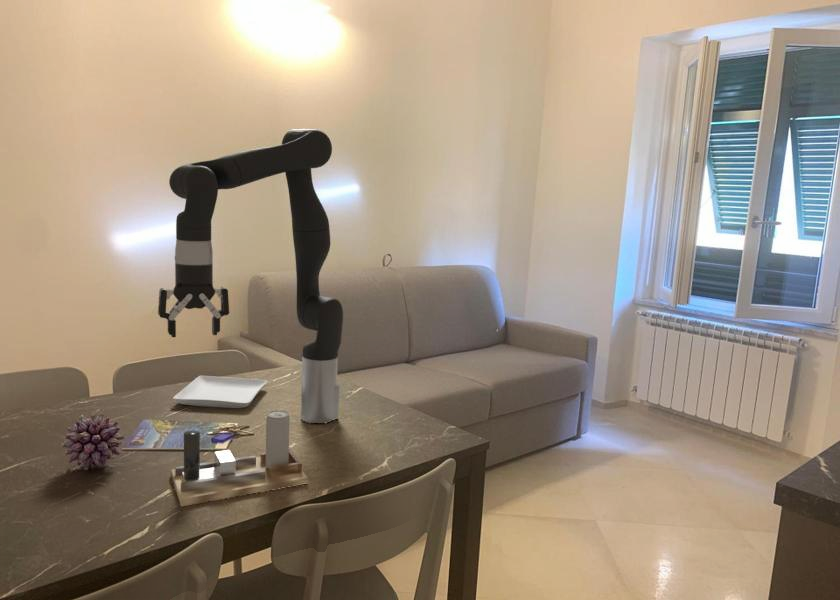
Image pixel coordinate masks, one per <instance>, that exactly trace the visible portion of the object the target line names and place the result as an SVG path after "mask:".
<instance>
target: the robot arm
mask: <svg viewBox="0 0 840 600" xmlns="http://www.w3.org/2000/svg"><path fill="white" fill-rule="evenodd" d="M332 153H333V145H332V141H331V139H330V137H329V136H328V135H327V134H326V133H325V132H324V131H321V130H318V129H314V128H313V129H312V128H294V129H289V130H288V131H287V132H285V134H284V135H283V137H282V141H281V144H278V145H274V146H267V147H260V148H253V149H252V148H251V149H247V150H243V151H241V150H240V151H238V152H234V153H230V154H227V155H223V156H220V157H218V158H215V159H210V160H203V161H197V162H191V163H187V164H183V165H181V166H179V167H177V168H175V169H174V170H173V171H172V172H171V175H170V176H169V183H168V184H169V187H170V190H171V191H172V193H173V194H174V195H176V196H177V197H178V198H181V199H184V200H185V205H184V210H183V211H181V212H179V213H178V214H177V215H176V221H175V231H176V232H175V234H176V235H175V237H176V239H175V247H174V249H175V250H174V261H175V262H174V263H175V266H174V267H175V268H174V271H175V272H174V273H175V274H174V275H175V278H174V280H175V283H174V285H175V286H174V288H173V289H167V288H164V287H161V288H160V289H159V292H158V306H157V307H158V310H157V314H158V316H159V317H160V318H161V319H166V320H167V333H168V335H169V336H170V337H171V338H176V336H177V331H176V330H177V328H176V327H177V326H176V325H177V324H176V323H177V321H176V318H177V316H178V315H179V314H180V313H181V312H182V311H183V310H184V309H187V310H192V309H201V310H202V309H204V308H205V307H206V308H207V309H208V311H210V313H211V314H212V317H211V334H212V335H213V336H217V335H218V333H220V331H221V318H222V317H224V316H225V317H226V316H228V315H229V314H230V306H229V305H230V303H229V302H230V301H229V290H228V288H227V287H224V286H221V287H219V288H214V285H213V284H214V283H213V282H214V281H213V278H214V275H213V271H214V270H213V269H214V265H213V261H214V260H213V259H214V258H213V257H214V256H213V246H212V245H213V244H212V220H213V215H214V212H215V209H216V203H217V200H218V193H219V190H230V189H236V188H238V187H241V186H244V185H248V184H251V183H254V182H257V181H260V180H263V179H265V178H269V177H270V178H271V177H273V176H276V175H279V174H282V173H285V177H286V178H285V179H286V183H287V190H288V195H289V205H290V206H289V207H290V213H291V214H290V215H291V226H292V227H291V228H292V229H291V230H292V238H293V239H292V241H293V247H294V257H295V258H294V259H295V271H296V274H295V275H296V315H297V320H298V323H299V325H301V326H302V327H303V328H304V329H308V330H311V331H316V338H315V340H314V341H312V342H311V341H310V342H307V343H305V344H304V345H303V347H302V357H301V358H302V359H301V360H302V362H301V363H302V364H301V391H300V393H301V398H300V399H301V401H300V403H301V404H300V420H301V419H302V420H303V422H304V421H305V423H307V422H308V423H307V424H311V423H325V422H329V421H332V420H333V419H336V418H338V419H339V405H340V404H339V403H340V385H339V384H338V363H339V362H338V356H339V350H340V348H341V343H342V336H343V335H342V333H343V322H344V310H343V305H342V303H341V301H340V300H338V299H337V298H334V297H329V296H324V295H321V294H320V283H319V282H320V272H321V271H322V268H323V265H324V263H325V261H326V259H327V257H328V255H329V251H330V248H331V232H330V230H331V229H330V222H329V218H328V215H327V213H326V210H325V208H324V206H323V204H322V203H321V200H320V198H319V197H318V194H317V193H316V189H315V187H314V186H315V185H314V184H313V183H314V182H313V176H312V169H317V168H321V167H324V165H326V164H327V163H328V162H329V160H330V159H331V156H332ZM215 294H216V295H217V297H218V298H219V299H220V309H217V308H216V307H215V305H214V304H213V303H212V301H211V300H212V299H213V297H214V295H215ZM171 296H174V297H175V299H177V301H176V302H175V303H174V305H173V306H172V308H171V310H170V311H169V312H168V311H167V301H168V300H170V299H171ZM302 420H301V421H302ZM332 422H333V421H332ZM325 424H326V423H325Z"/></svg>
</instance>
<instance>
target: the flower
mask: <svg viewBox="0 0 840 600" xmlns="http://www.w3.org/2000/svg"><path fill="white" fill-rule="evenodd" d="M78 419H79V420H76V421H75V424H74V425H73V427H70V426H67V427H66V428H65V430H67V432H69V433H65V436H64V437H65V439H66V441H65V442H62V443H60V445H61V448H67V450H66V451H65V455H66V456H68V455H70V457H69V458H68V459H67V461H68V463H72V462H75V461H77V462H76V465H78V466H80V465H82V464H83V466H84V467H83V470H85V471H88V470H89V467H90V466H91V465H93V468H97V467H98V464H100V465H101V466H102V467H103V468H105V467H107V466H108V464H107V460H108V461H109V460H113V459H115V456H114V455H117V456H120V454H121V452H120V451H119V450H118V449H117V448H119V447H120V446H121V445H122V444H123V443H122V441H121V440H125V435H121V434H119V433H118V432H119V431H121V429H122V428H121V426H120V425H119V426H117V425H118V424H119V423H120V422H119V420H115V421H113V422H110V419H111V417H110V416H109V417H108V416H107V417H106V418H105V414H104V412H100V413H99V415H97V417H96V415H95V413H92V414H91V415H90V417H89V418H87V417H85V416H84V415H83V414H81V415H79V416H78ZM116 426H117V427H116Z"/></svg>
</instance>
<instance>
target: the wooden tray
mask: <svg viewBox="0 0 840 600" xmlns="http://www.w3.org/2000/svg"><path fill="white" fill-rule="evenodd" d="M234 459H235V460H236V474H232V475H226V476H219V477H213V478H207V479H200V480H194V481H188V482H184V480H183V477H182V472H184V465H180V466H175V468H172V469H170V477H171V481H172V484H173V487H174V490H175V493H176V495H177V499H178V502H179V504H180V507H185V506H191V505H198V504H202V503H203V504H204V503H208V501H210V502H214V501H220V499H221V500H226V499H225V498H227V499H231V498H230V497H233V498H236V497H235V496H238V497H241V496H240V495H244V496H247V495H246V494H250V495H252V494H251V493H256V494H258V493H257V492H261V493H264V492H263V491H267V492H270V491H269V490H272V489H273V491H275V490H274V489H278V488H282V487H288V486H293V485H297V484H302V483H309V478H308V475H306V473H305V472H304V471H303V463H302V462H301V460H300V459H299V458H298V457H297V456H296V454H295V453H294V452H293V451H292V449H291V448H289V461H288V464H285V465H278V466H272V467H270V470H269V469H268V468H267V467H266V452H260V456H256V455H249V456H241V457H234ZM212 467H215V460H214V461H207V462H200V469H206V468H212Z"/></svg>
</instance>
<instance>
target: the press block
mask: <svg viewBox="0 0 840 600" xmlns="http://www.w3.org/2000/svg"><path fill="white" fill-rule="evenodd" d="M200 433H201V432H200V431H198V430H187V431H185V432H184V433H183V466H184V472H182V477H183V480H184V482H188V481H194V480H200V479H207V478H213V477H219V476H226V475H232V474H236V460H235V459H234V458H235V457H234V456H233V453H232V452H231V450H230V449H225V450H217V451H214V461H215V467H212V468H206V469H200V463H201V462H200V460H201V458H200V456H201V454H200V453H201V448H200V447H201V445H200V444H201V440H200V439H201V437H200V435H201V434H200Z"/></svg>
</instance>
